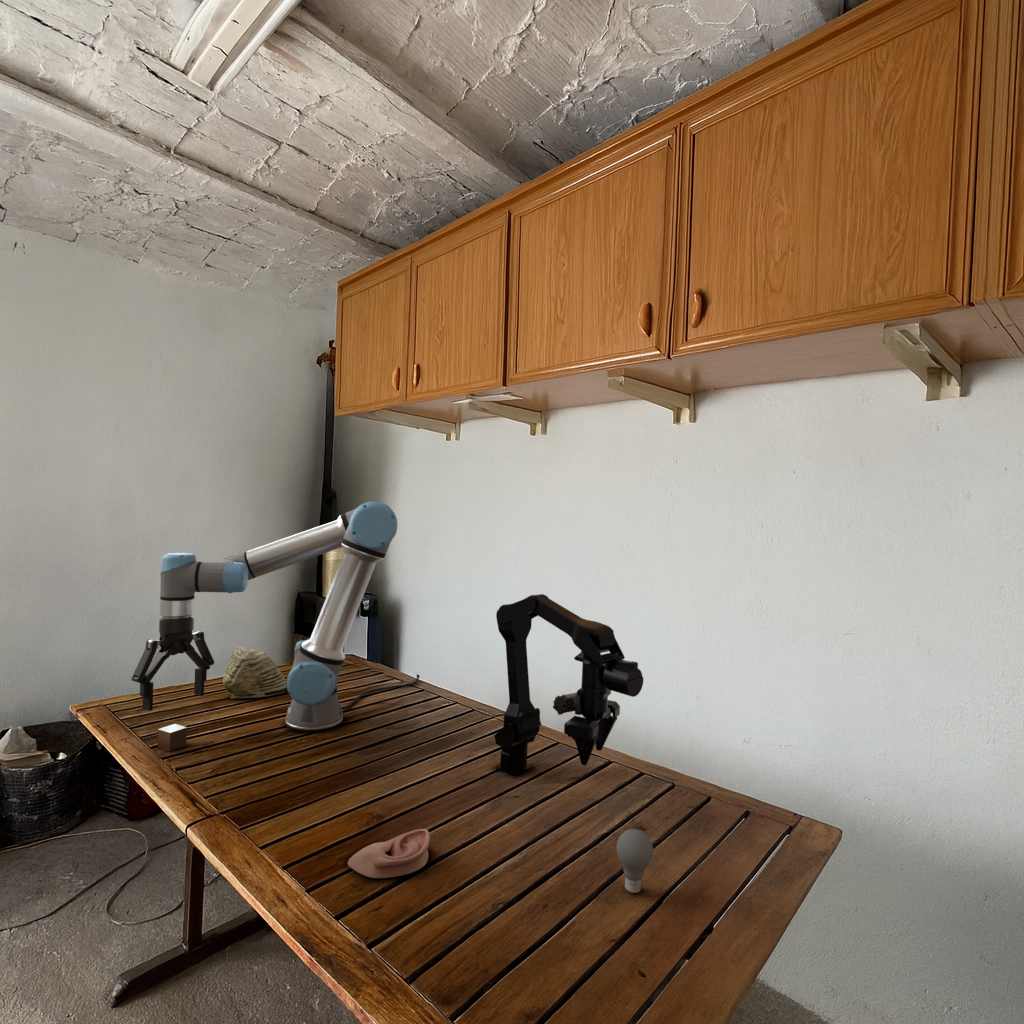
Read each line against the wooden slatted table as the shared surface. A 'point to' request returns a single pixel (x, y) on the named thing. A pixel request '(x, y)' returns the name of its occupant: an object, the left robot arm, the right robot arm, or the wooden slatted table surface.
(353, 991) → the wooden slatted table surface
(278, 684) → the fossil
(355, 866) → the anatomical model
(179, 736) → the block
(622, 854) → the light bulb
